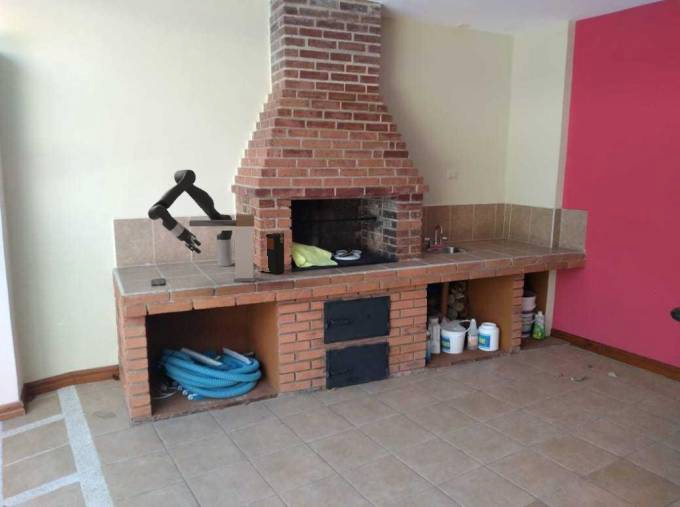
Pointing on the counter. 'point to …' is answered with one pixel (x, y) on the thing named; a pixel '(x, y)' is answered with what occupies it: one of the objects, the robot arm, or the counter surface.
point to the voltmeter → (275, 252)
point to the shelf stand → (241, 251)
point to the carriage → (226, 221)
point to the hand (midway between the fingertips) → (200, 248)
